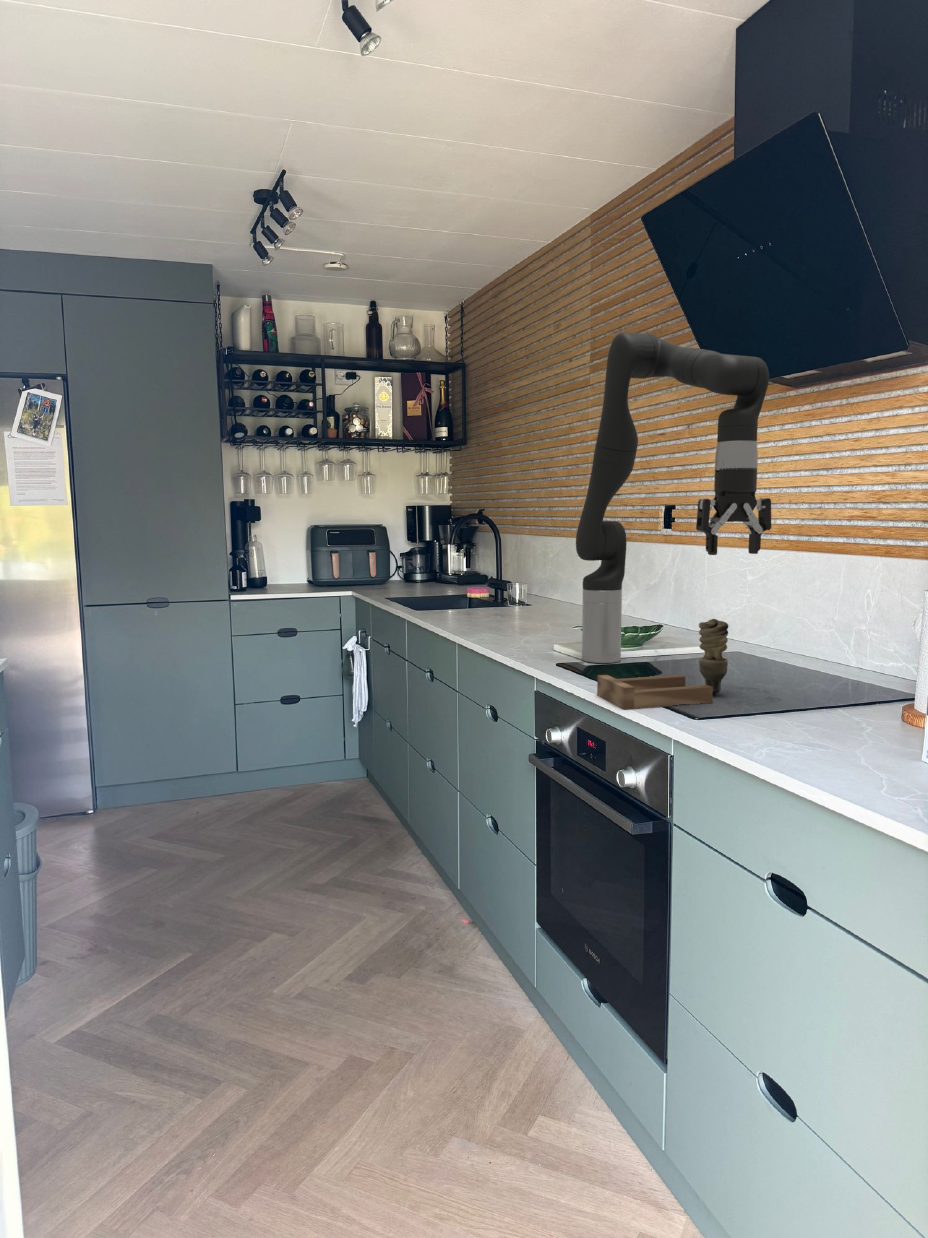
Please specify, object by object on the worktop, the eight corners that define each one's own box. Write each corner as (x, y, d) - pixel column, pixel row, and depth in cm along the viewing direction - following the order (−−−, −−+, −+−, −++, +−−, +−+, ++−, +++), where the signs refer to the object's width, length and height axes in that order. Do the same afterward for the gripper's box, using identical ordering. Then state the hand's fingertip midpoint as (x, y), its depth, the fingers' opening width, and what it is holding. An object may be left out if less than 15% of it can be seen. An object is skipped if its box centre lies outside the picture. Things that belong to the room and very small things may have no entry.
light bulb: (693, 696, 159) (696, 619, 157) (699, 690, 164) (702, 616, 162) (723, 699, 157) (726, 621, 155) (729, 693, 162) (731, 617, 160)
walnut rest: (597, 695, 161) (597, 675, 160) (679, 689, 165) (680, 669, 165) (624, 709, 149) (624, 688, 149) (712, 702, 154) (712, 681, 153)
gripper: (758, 467, 158) (755, 552, 160) (691, 467, 155) (688, 554, 157) (782, 466, 150) (778, 554, 153) (711, 465, 147) (708, 556, 150)
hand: (732, 554), depth 155 cm, fingers open, 8 cm apart
